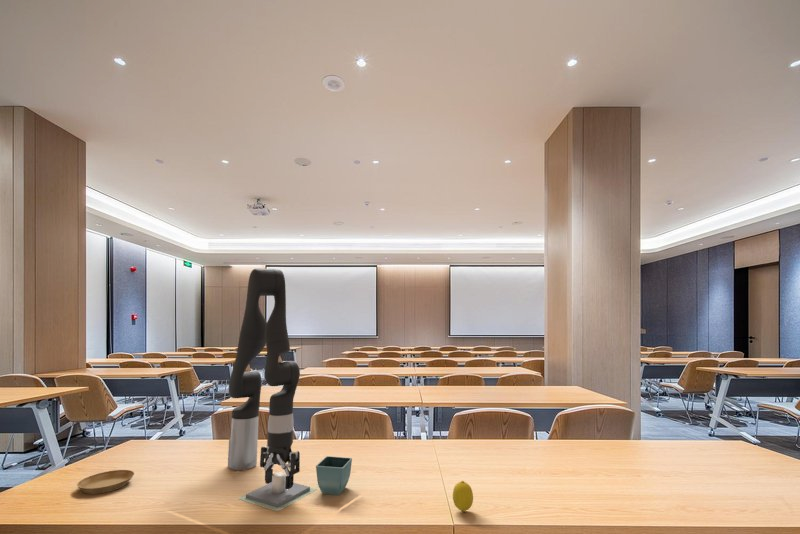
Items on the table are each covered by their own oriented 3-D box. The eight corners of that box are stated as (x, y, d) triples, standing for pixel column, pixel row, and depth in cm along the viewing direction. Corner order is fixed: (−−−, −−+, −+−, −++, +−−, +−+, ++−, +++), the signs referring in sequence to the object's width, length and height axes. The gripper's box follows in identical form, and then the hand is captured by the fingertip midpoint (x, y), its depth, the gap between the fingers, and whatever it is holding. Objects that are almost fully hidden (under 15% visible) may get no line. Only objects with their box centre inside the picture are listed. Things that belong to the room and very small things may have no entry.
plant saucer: (115, 496, 120) (116, 487, 120) (63, 498, 119) (64, 488, 119) (143, 477, 134) (143, 468, 135) (97, 478, 133) (98, 470, 134)
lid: (245, 497, 116) (246, 478, 117) (279, 482, 128) (279, 464, 128) (277, 507, 110) (278, 487, 111) (309, 490, 121) (310, 471, 122)
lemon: (451, 507, 111) (450, 477, 112) (470, 506, 111) (469, 476, 113) (455, 517, 106) (454, 485, 107) (475, 516, 106) (475, 484, 107)
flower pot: (342, 500, 116) (343, 467, 117) (314, 497, 118) (315, 465, 119) (352, 487, 125) (352, 457, 126) (325, 485, 126) (326, 455, 128)
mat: (237, 501, 116) (237, 498, 116) (279, 481, 130) (279, 479, 130) (277, 513, 108) (277, 511, 108) (316, 491, 122) (316, 489, 122)
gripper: (254, 428, 122) (252, 485, 119) (288, 434, 115) (287, 495, 112) (273, 423, 128) (271, 477, 126) (306, 428, 121) (305, 485, 119)
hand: (278, 485), depth 119 cm, fingers open, 8 cm apart
